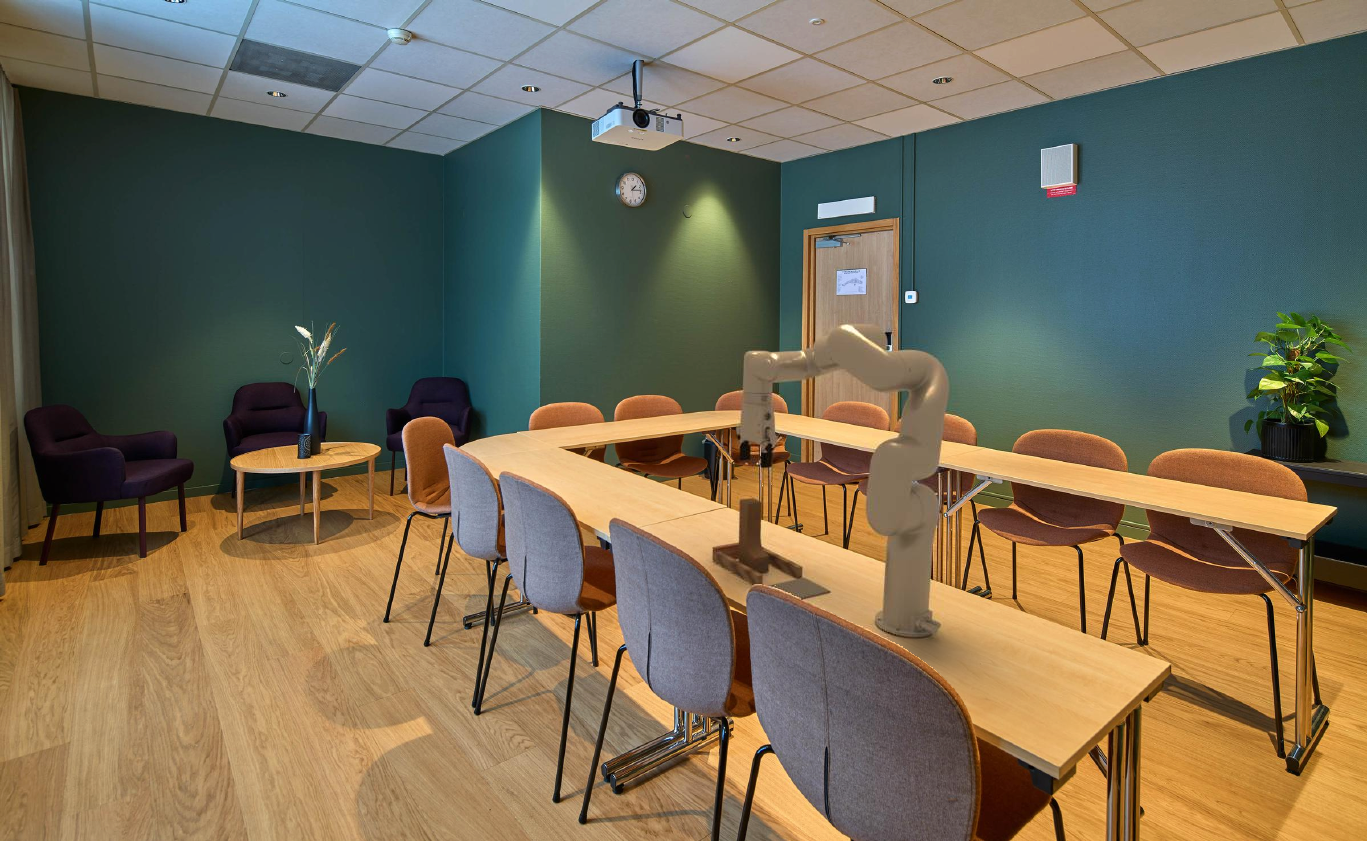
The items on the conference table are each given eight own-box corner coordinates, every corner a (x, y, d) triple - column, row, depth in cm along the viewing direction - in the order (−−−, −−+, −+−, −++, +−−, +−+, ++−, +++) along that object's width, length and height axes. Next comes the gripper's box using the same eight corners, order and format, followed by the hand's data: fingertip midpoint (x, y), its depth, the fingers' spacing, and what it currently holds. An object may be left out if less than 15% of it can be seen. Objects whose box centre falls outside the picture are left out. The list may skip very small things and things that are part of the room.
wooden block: (769, 572, 186) (770, 505, 183) (754, 574, 184) (755, 507, 181) (752, 561, 194) (753, 497, 191) (737, 563, 192) (739, 499, 190)
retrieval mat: (830, 592, 173) (830, 590, 172) (784, 603, 166) (784, 601, 166) (804, 579, 181) (804, 577, 181) (759, 588, 174) (759, 587, 174)
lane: (802, 577, 182) (802, 563, 181) (757, 587, 175) (757, 572, 175) (754, 553, 201) (754, 539, 200) (712, 561, 194) (712, 547, 193)
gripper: (789, 402, 177) (786, 469, 179) (750, 394, 192) (748, 456, 194) (765, 403, 173) (762, 471, 176) (727, 395, 188) (725, 458, 191)
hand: (755, 463), depth 185 cm, fingers open, 9 cm apart
